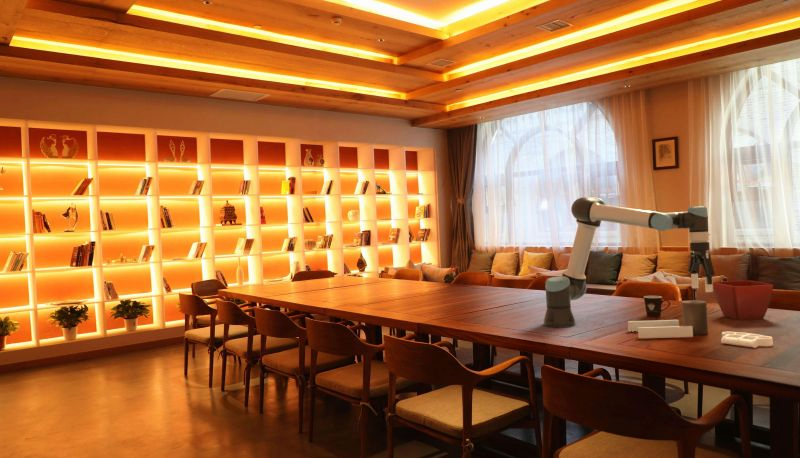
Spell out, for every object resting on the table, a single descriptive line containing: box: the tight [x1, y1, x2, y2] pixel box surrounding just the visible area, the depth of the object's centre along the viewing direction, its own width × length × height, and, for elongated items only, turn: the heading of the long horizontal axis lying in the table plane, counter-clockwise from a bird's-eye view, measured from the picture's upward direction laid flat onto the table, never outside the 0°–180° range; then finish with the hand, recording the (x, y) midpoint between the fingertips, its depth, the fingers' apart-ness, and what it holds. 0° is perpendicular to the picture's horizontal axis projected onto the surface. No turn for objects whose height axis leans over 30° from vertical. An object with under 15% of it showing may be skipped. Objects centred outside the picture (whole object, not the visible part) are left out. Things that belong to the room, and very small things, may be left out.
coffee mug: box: [643, 295, 671, 318], centre depth 283 cm, size 12×9×10 cm
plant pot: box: [712, 280, 774, 321], centre depth 270 cm, size 19×19×17 cm
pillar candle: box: [681, 299, 709, 336], centre depth 243 cm, size 10×10×15 cm
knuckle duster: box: [720, 331, 774, 349], centre depth 220 cm, size 3×18×15 cm
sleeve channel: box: [627, 319, 694, 339], centre depth 244 cm, size 22×15×4 cm
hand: (702, 290), depth 242 cm, fingers open, 13 cm apart
